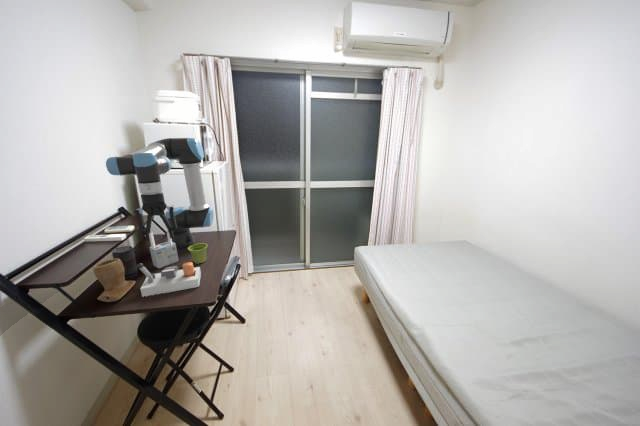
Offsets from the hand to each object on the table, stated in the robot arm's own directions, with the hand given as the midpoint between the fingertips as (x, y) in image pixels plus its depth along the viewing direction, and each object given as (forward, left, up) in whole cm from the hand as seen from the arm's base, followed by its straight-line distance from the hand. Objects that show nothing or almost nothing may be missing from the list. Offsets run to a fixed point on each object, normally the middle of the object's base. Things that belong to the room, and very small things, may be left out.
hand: (162, 246), depth 108 cm
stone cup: (-5, -22, -21) cm, 31 cm away
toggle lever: (-4, -7, -16) cm, 18 cm away
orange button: (-4, +8, -18) cm, 20 cm away
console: (-4, +1, -21) cm, 21 cm away
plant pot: (-25, +10, -21) cm, 34 cm away
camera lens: (-19, -21, -21) cm, 35 cm away
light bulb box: (-29, -7, -21) cm, 37 cm away
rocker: (-4, 0, -14) cm, 14 cm away
